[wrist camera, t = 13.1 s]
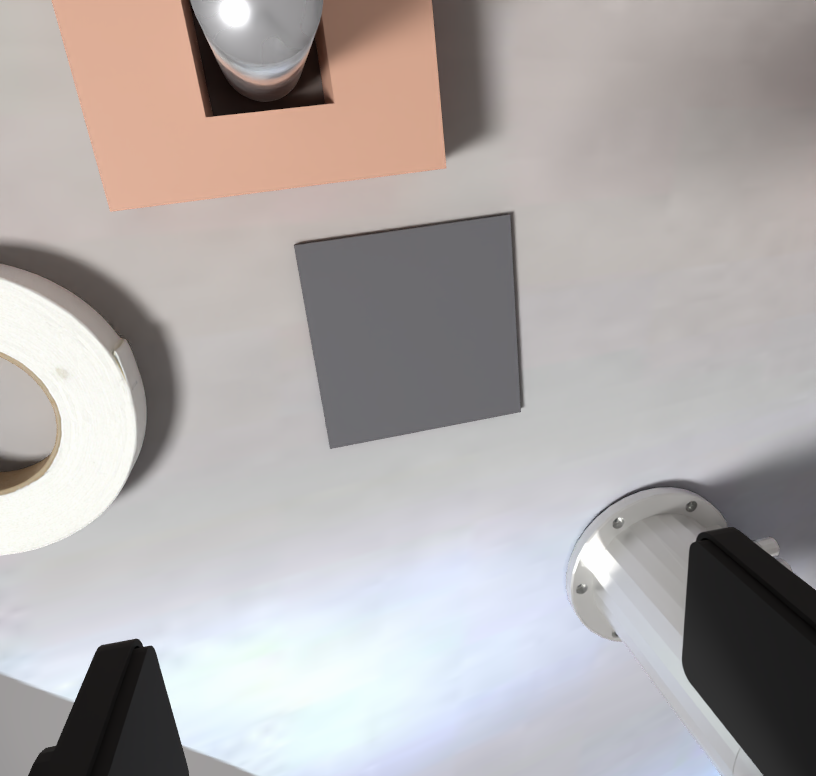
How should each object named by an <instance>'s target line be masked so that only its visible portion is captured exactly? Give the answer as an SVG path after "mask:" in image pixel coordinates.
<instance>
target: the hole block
mask: <svg viewBox="0 0 816 776" xmlns="http://www.w3.org/2000/svg"><path fill="white" fill-rule="evenodd" d="M52 3H53V7H54V11H55V14H56V18H57V21H58V25H59V29H60V32H61V36H62V39H63V43H64V47H65V50H66V54H67V57H68V61H69V65H70V68H71V72H72V75H73V79H74V83H75V86H76V90H77V93H78V97H79V101H80V104H81V108H82V111H83V115H84V119H85V122H86V126H87V129H88V133H89V137H90V140H91V144H92V147H93V151H94V155H95V158H96V162H97V165H98V169H99V173H100V176H101V180H102V183H103V187H104V191H105V194H106V198H107V201H108V205H109V209H110V212H112V211H119V210H127V209H135V208H143V207H150V206H158V205H166V204H174V203H181V202H189V201H197V200H205V199H212V198H220V197H228V196H236V195H243V194H251V193H259V192H267V191H274V190H282V189H290V188H297V187H305V186H313V185H321V184H328V183H336V182H344V181H352V180H359V179H367V178H375V177H383V176H390V175H398V174H406V173H414V172H421V171H429V170H437V169H445V168H446V159H445V147H444V136H443V124H442V113H441V101H440V90H439V78H438V67H437V55H436V44H435V32H434V21H433V9H432V0H323V9H322V15H321V18H320V22H319V25H318V28H317V31H316V33H315V39H316V46H317V53H318V59H319V66H320V73H321V80H322V86H323V93H324V100H325V104H324V105H315V106H306V107H296V108H287V109H278V110H269V111H260V112H251V113H242V114H233V115H224V116H215V117H213V113H212V108H211V103H210V99H209V94H208V89H207V84H206V80H205V75H204V70H203V65H202V60H201V56H200V51H199V46H198V41H197V37H196V32H195V27H194V22H193V17H192V13H191V8H190V3H189V0H52Z"/></svg>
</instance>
